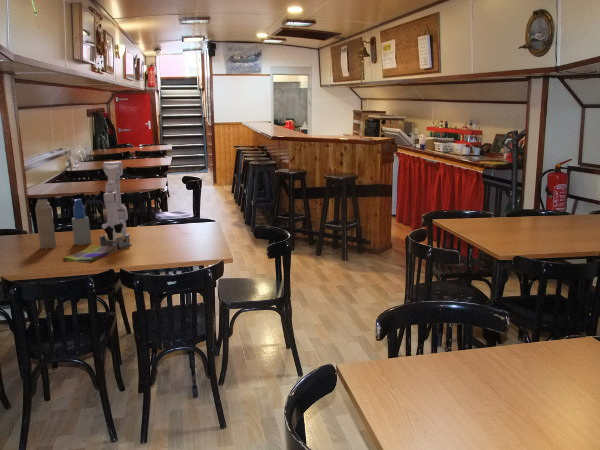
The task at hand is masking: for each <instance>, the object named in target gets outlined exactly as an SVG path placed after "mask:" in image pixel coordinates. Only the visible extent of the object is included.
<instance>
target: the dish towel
mask: <svg viewBox="0 0 600 450" xmlns="http://www.w3.org/2000/svg"><path fill="white" fill-rule="evenodd" d="M117 249H118V247H115V246H100V245H95V244H94V245H90V246H88V247H87V248H85V249H83V250H81V251H79V252H76V253H74V254H71V255H68V256H63V257H62V260H64V261H65V260H66V261H65V262H71V261H74V262H73V263H87V264H89V263H93V262H96V261H97V260H99V259H102V258H105V257H106V256H110V255H112V254H114V253H116V252H117V251H119V250H117Z"/></svg>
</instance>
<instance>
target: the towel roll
mask: <svg viewBox="0 0 600 450" xmlns="http://www.w3.org/2000/svg"><path fill="white" fill-rule="evenodd" d="M104 235H105V239H106V241H112V242H116V243H117V240H116V238H119V237H122V241H123V242H124V239H125V237H124V235H123V234H122V233H114V232H113V240H109V238H108V236H107V234H106V233H105V234H104Z"/></svg>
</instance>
